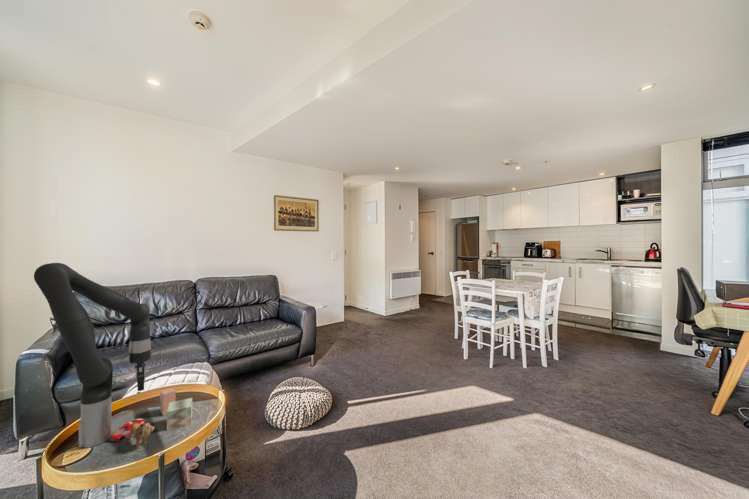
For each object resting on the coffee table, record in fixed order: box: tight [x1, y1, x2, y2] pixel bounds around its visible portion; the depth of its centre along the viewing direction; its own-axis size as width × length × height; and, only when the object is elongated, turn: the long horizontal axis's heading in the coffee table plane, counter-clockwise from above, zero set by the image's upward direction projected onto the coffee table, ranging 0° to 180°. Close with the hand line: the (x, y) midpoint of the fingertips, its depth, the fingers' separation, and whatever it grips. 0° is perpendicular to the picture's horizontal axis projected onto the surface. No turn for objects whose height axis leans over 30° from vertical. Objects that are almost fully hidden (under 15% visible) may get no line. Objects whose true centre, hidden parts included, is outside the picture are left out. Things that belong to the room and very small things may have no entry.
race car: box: [109, 417, 147, 443], centre depth 127 cm, size 13×5×4 cm, turn 167°
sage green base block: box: [166, 397, 193, 431], centre depth 135 cm, size 9×9×8 cm
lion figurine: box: [127, 422, 156, 449], centre depth 120 cm, size 15×5×9 cm, turn 67°
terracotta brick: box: [159, 387, 177, 417], centre depth 143 cm, size 5×5×10 cm
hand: (140, 387), depth 129 cm, fingers open, 8 cm apart
